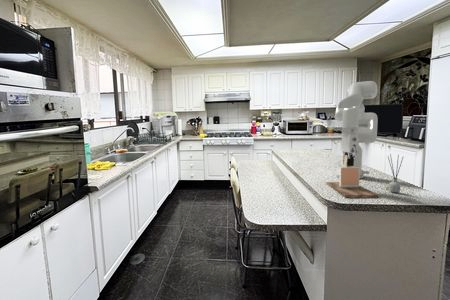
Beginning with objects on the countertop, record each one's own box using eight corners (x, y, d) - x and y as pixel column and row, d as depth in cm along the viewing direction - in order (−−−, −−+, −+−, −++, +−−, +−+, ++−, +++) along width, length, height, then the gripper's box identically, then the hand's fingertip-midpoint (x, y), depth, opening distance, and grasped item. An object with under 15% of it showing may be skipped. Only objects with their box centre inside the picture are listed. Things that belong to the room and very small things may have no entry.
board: (352, 184, 137) (352, 182, 137) (378, 197, 113) (378, 194, 113) (324, 184, 137) (325, 182, 137) (345, 198, 114) (345, 195, 113)
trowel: (350, 176, 131) (353, 154, 128) (356, 180, 126) (359, 157, 122) (336, 176, 131) (338, 154, 128) (341, 180, 126) (344, 157, 122)
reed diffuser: (405, 194, 117) (408, 155, 114) (392, 195, 116) (395, 155, 114) (390, 189, 127) (392, 152, 125) (378, 189, 127) (380, 153, 124)
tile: (358, 166, 125) (359, 167, 124) (358, 187, 126) (359, 187, 124) (339, 167, 125) (340, 167, 124) (339, 187, 126) (340, 187, 124)
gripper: (366, 131, 115) (364, 168, 118) (349, 130, 132) (347, 162, 134) (350, 132, 116) (349, 168, 118) (335, 130, 132) (334, 162, 134)
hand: (348, 164), depth 126 cm, fingers closed on trowel, 3 cm apart
